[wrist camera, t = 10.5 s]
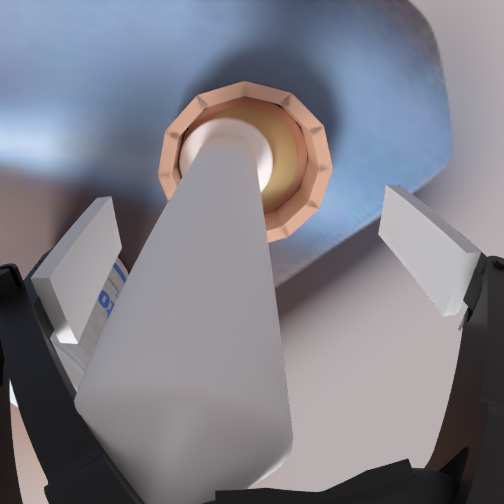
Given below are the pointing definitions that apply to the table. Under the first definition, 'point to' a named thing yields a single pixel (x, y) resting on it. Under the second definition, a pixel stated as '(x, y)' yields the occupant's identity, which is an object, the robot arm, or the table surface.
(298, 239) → the table surface
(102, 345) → the candle
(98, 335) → the supplement tub
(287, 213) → the jar dish
